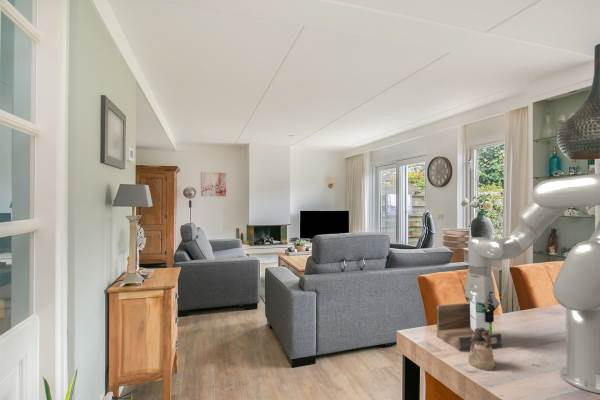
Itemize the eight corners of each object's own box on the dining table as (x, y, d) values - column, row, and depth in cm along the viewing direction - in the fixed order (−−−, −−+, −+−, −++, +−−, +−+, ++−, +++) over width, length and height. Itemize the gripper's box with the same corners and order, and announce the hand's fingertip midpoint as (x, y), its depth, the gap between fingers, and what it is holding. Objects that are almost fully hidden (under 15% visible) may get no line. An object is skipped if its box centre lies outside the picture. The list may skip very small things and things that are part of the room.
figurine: (480, 358, 106) (480, 322, 106) (499, 368, 99) (499, 329, 99) (463, 361, 104) (463, 324, 104) (482, 372, 97) (482, 332, 97)
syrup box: (475, 333, 116) (474, 293, 116) (469, 327, 121) (469, 289, 122) (492, 334, 114) (491, 294, 115) (486, 328, 120) (485, 290, 121)
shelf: (502, 347, 114) (501, 313, 114) (460, 351, 110) (460, 317, 111) (474, 332, 127) (474, 302, 127) (436, 336, 123) (436, 305, 124)
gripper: (455, 266, 126) (455, 311, 126) (489, 275, 109) (490, 327, 109) (471, 265, 128) (472, 310, 127) (508, 274, 111) (509, 325, 110)
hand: (480, 317), depth 118 cm, fingers closed on syrup box, 7 cm apart
